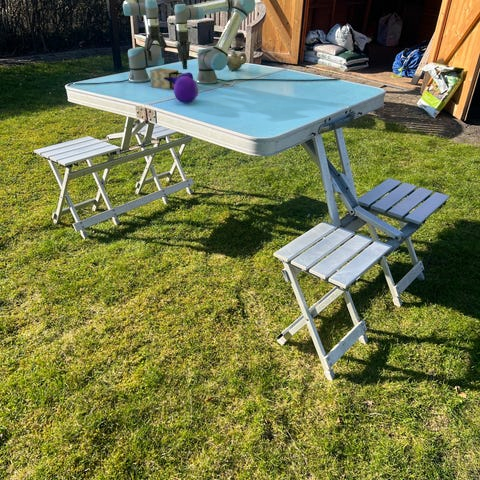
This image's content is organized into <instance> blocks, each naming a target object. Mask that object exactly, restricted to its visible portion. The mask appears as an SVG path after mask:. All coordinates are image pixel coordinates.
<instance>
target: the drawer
mask: <svg viewBox="0 0 480 480" xmlns="http://www.w3.org/2000/svg"><path fill="white" fill-rule="evenodd" d="M185 73H186V72H180V71H179V72H175V73H170V74H169V76H170V77H175V78H180V77H181V75H182V74H185ZM174 86H175V84H173V83H171V82H170V87H172V88H174Z"/></svg>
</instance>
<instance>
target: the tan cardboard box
mask: <svg viewBox="0 0 480 480" xmlns="http://www.w3.org/2000/svg"><path fill="white" fill-rule="evenodd" d="M175 72H179V73H180V71H179V69H170V68H162V67H160V68H155V69H151V70H149V78H150V85H151V88H156V89H157V88H158V89H163V90H174V88H172V87H170V82H169V81H167V80H165V79H164V77H170V76H169V74H170V73H175Z"/></svg>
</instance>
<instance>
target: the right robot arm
mask: <svg viewBox="0 0 480 480" xmlns="http://www.w3.org/2000/svg"><path fill="white" fill-rule="evenodd" d="M255 9H256V0H209V1H204V2H200V3H194V4H189V5H187V4H185V3H176V4H175V5H174V16H175V17H174V18H175V30H176V38H177V43H175V48H176V50H177V54H178V55H177V56H178V59H180V60H181V65H182V70H188V59H189V57H190V51H191V50H190V49H191V41H190V40H189V39H188V38H189V31H188V30H189V27H188V21H200V20H203V19H204V16H206V15H211V14H216V13H221V12H223V13H231V15H230V17H229V18H228V21H227V23H226V25H225V27H224V29H223V31H222V33H221V35H220V37H219V39H218V41H217V44H216V45H214V46H213V47H208V48H201V49H198V50H197V66H198V74H197V77H196V83H197V84H199V85H213V84H216V83H218V82H219V81H221V82H225V83H226V82H227V83H228V82H233V81H276V82H278V81H280V82H319V81H321V82H324V81H340V80H341V79H342V78H341V77H339V78H338V77H337V78H321V79H319V78H318V79H317V78H316V79H313V78H312V79H289V78H288V79H287V78H286V79H284V78H233V79H221V78H218V77H217V75H216V71H223V70H224V69H225V68H226V67H227V62H228V60H227V57H229V49H230V48H231V45H232V43H233V41H234V39H235V37H236V35H237V33H238V31H239V30H240V27H241V25H242V23H243V21H244V20H246V19H247V18H248V16H249V15H250V14H252V13H253V12H254V11H255Z"/></svg>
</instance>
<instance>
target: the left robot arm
mask: <svg viewBox="0 0 480 480" xmlns="http://www.w3.org/2000/svg"><path fill="white" fill-rule="evenodd" d="M122 9H123V10H122V11H123V15H124V16H125V17H133V16H135V17H137V16H141V17H142V18H143V22H144V28H145V29H144V30H145V42H144V46H137V47H132V48H130V49H128V50H127V57H128V64H129V65H128V66H129V76H128V79H124V80H116V81H115V80H114V81H104V82H70V83H68V84H67V87H70V86H71V85H103V84H113V83H124V82H129V83H133V84H141V83H148V82H150V81H151V78H150V75H149V74H148V71H147V67H151V66H162V65H164V64H165V59H166V49H167V46H168V45H167V42H166V40H165V38H164V37H165V36H164V34H163V32H160V26H159V25H160V23H159V15H158V14H159V6H158V1H157V0H124V1H123V3H122ZM73 83H75V84H73Z"/></svg>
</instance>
